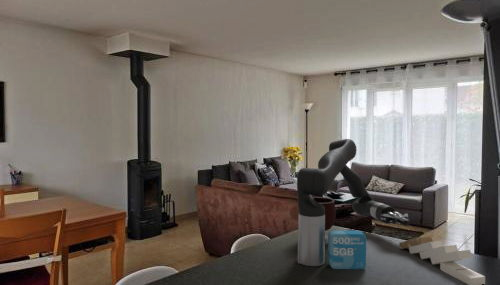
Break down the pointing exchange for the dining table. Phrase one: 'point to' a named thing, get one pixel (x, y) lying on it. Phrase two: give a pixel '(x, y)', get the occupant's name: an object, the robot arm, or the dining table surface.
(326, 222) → the mate gourd
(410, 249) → the tile
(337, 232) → the data package
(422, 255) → the tile
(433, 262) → the white domino block
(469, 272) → the end tile
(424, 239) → the tile
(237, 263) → the dining table surface
